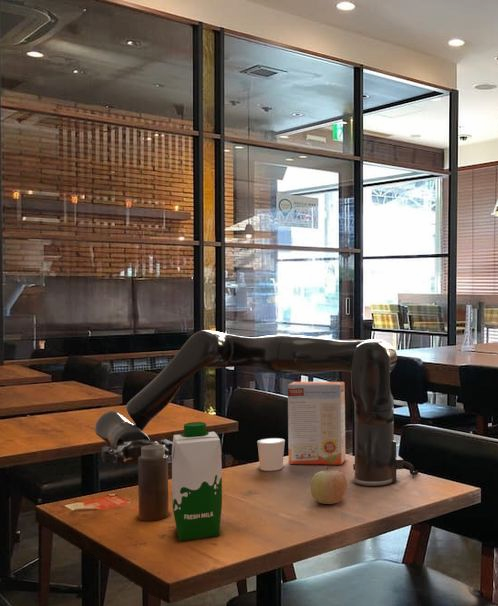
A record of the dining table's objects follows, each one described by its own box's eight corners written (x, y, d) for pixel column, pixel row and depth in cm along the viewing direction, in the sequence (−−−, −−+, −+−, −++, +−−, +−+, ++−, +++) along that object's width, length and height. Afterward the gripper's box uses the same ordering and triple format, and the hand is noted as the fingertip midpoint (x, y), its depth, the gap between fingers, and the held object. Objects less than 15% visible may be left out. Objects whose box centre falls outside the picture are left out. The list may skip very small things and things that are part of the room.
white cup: (261, 472, 173) (261, 444, 173) (254, 466, 180) (254, 439, 179) (288, 469, 177) (288, 441, 176) (280, 463, 183) (280, 436, 182)
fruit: (317, 510, 144) (316, 471, 144) (306, 500, 151) (306, 463, 151) (352, 505, 147) (351, 467, 147) (340, 495, 154) (340, 459, 154)
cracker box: (346, 459, 186) (345, 381, 185) (341, 465, 180) (340, 384, 179) (294, 458, 187) (293, 380, 187) (287, 464, 181) (287, 383, 181)
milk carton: (218, 521, 137) (217, 420, 137) (225, 537, 129) (224, 428, 129) (170, 528, 134) (169, 423, 133) (174, 544, 126) (173, 432, 125)
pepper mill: (169, 510, 144) (168, 442, 144) (167, 519, 139) (167, 449, 139) (140, 513, 143) (139, 444, 142) (137, 522, 137) (136, 451, 137)
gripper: (95, 430, 158) (107, 444, 144) (161, 423, 166) (178, 436, 152) (96, 463, 158) (107, 480, 144) (161, 455, 166) (178, 470, 152)
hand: (143, 457), depth 148 cm, fingers open, 8 cm apart
